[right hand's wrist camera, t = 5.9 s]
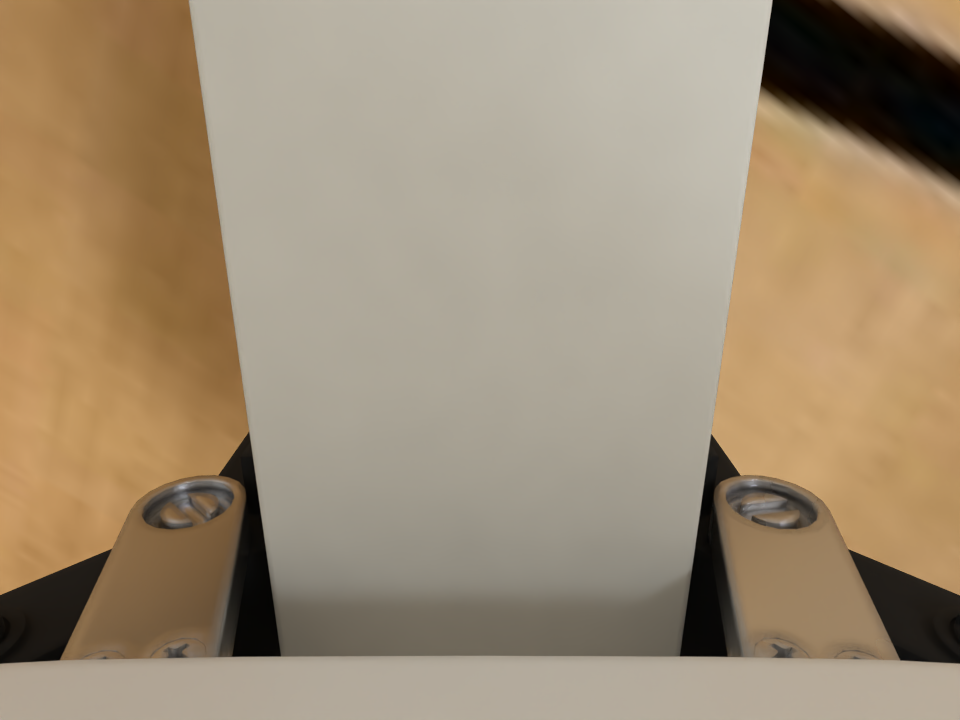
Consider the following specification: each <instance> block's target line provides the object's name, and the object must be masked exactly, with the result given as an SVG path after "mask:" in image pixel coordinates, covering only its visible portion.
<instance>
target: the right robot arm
mask: <svg viewBox="0 0 960 720" xmlns="http://www.w3.org/2000/svg"><path fill="white" fill-rule="evenodd" d="M0 720H960V595H957V594H955V593H952V592H950V591H948V590H945V589H943V588H940V587H938V586H936V585H933V584H931V583H928V582H926V581H923V580H921V579H919V578H916V577H914V576H911V575H909V574H907V573H904V572H902V571H899V570H897V569H895V568H892V567H890V566H887V565H885V564H882V563H880V562H878V561H875V560H873V559H870V558H868V557H866V556H863V555H861V554H858V553H856V552H854V551H851V550H849V549H848V548H847V546H846V544H845V542H844V540H843V538H842V536H841V534H840V531H839V529H838V527H837V525H836V523H835V521H834V519H833V517H832V514H831V512H830V510H829V509H828V508H827V506H826V505H825V504H824V502H823V501H822V500H821V499H819V498H818V497H817V496H815V495H814V494H813V493H811V492H810V491H808V490H806V489H804V488H802V487H800V486H798V485H796V484H793V483H790V482H787V481H784V480H781V479H776V478H771V477H765V476H753V475H744V476H741V475H740V474H739V473H738V471H737V470H736V468H735V467H734V465H733V464H732V463H731V461H730V460H729V458H728V457H727V455H726V454H725V453H724V451H723V450H722V448H721V447H720V446H719V444H718V443H717V441H716V440H715V438H714V437H713V436H712V434H711V438H710V445H709V452H708V459H707V467H706V474H705V481H704V488H703V495H702V502H701V509H700V516H699V523H698V530H697V537H696V544H695V551H694V558H693V566H692V573H691V580H690V587H689V594H688V601H687V608H686V615H685V622H684V629H683V636H682V643H681V650H680V657H652V656H308V657H281V652H280V645H279V638H278V631H277V624H276V617H275V610H274V602H273V595H272V588H271V581H270V574H269V567H268V560H267V553H266V546H265V539H264V532H263V524H262V517H261V510H260V503H259V496H258V489H257V482H256V475H255V468H254V461H253V453H252V446H251V439H250V432H249V433H248V434H247V436H246V437H245V439H244V440H243V441H242V443H241V444H240V446H239V447H238V448H237V450H236V451H235V453H234V454H233V456H232V457H231V458H230V460H229V461H228V463H227V464H226V466H225V467H224V468H223V470H222V471H221V473H220V474H219V476H216V475H207V476H195V477H189V478H184V479H179V480H176V481H173V482H170V483H167V484H164V485H162V486H160V487H158V488H156V489H154V490H152V491H150V492H149V493H147V494H146V495H145V496H143V497H142V498H141V499H139V500H138V501H137V502H136V504H135V505H134V506H133V508H132V509H131V510H130V512H129V514H128V517H127V519H126V521H125V523H124V525H123V527H122V529H121V531H120V534H119V536H118V538H117V540H116V542H115V544H114V546H113V548H112V549H111V550H108V551H106V552H103V553H101V554H98V555H96V556H94V557H91V558H89V559H86V560H84V561H82V562H79V563H77V564H74V565H72V566H70V567H67V568H65V569H62V570H60V571H58V572H55V573H53V574H50V575H48V576H45V577H43V578H41V579H38V580H36V581H33V582H31V583H29V584H26V585H24V586H21V587H19V588H17V589H14V590H12V591H9V592H7V593H5V594H2V595H0Z"/></svg>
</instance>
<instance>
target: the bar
mask: <svg viewBox="0 0 960 720" xmlns="http://www.w3.org/2000/svg"><path fill="white" fill-rule="evenodd" d="M189 7H190V14H191V21H192V28H193V35H194V42H195V49H196V56H197V63H198V70H199V78H200V85H201V92H202V99H203V106H204V113H205V120H206V127H207V134H208V141H209V148H210V156H211V163H212V170H213V177H214V184H215V191H216V198H217V205H218V212H219V219H220V226H221V234H222V241H223V248H224V255H225V262H226V269H227V276H228V283H229V290H230V297H231V305H232V312H233V319H234V326H235V333H236V340H237V347H238V354H239V361H240V368H241V375H242V383H243V390H244V397H245V404H246V411H247V418H248V425H249V432H250V439H251V446H252V453H253V461H254V468H255V475H256V482H257V489H258V496H259V503H260V510H261V517H262V524H263V532H264V539H265V546H266V553H267V560H268V567H269V574H270V581H271V588H272V595H273V602H274V610H275V617H276V624H277V631H278V638H279V645H280V652H281V657H308V656H652V657H680V650H681V643H682V636H683V629H684V622H685V615H686V608H687V601H688V594H689V587H690V580H691V573H692V566H693V558H694V551H695V544H696V537H697V530H698V523H699V516H700V509H701V502H702V495H703V488H704V481H705V474H706V467H707V459H708V452H709V445H710V438H711V431H712V424H713V417H714V410H715V403H716V396H717V389H718V382H719V375H720V367H721V360H722V353H723V346H724V339H725V332H726V325H727V318H728V311H729V304H730V297H731V290H732V283H733V276H734V268H735V261H736V254H737V247H738V240H739V233H740V226H741V219H742V212H743V205H744V198H745V191H746V184H747V176H748V169H749V162H750V155H751V148H752V141H753V134H754V127H755V120H756V113H757V106H758V99H759V92H760V85H761V77H762V70H763V63H764V56H765V49H766V42H767V35H768V28H769V21H770V14H771V7H772V0H189Z"/></svg>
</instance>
